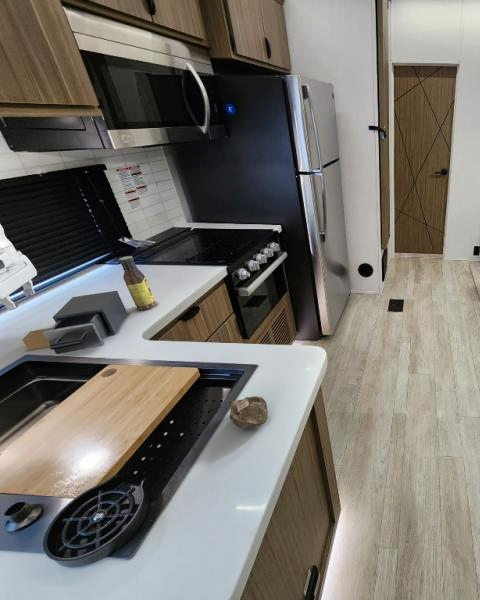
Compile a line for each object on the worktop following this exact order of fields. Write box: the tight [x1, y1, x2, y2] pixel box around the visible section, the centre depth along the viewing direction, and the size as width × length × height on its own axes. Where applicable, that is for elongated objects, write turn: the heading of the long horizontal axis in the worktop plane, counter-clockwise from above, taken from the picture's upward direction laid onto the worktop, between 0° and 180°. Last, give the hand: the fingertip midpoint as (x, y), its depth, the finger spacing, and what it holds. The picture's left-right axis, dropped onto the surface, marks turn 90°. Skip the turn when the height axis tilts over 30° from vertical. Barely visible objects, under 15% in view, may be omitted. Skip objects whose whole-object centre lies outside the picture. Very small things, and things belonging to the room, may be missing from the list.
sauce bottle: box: [118, 255, 157, 311], centre depth 122 cm, size 7×6×20 cm
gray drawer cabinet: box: [52, 290, 128, 337], centre depth 111 cm, size 15×13×10 cm
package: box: [21, 327, 52, 351], centre depth 105 cm, size 8×5×4 cm, turn 113°
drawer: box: [43, 312, 110, 355], centre depth 102 cm, size 18×11×8 cm, turn 23°
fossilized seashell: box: [229, 395, 269, 429], centre depth 76 cm, size 8×7×10 cm
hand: (22, 301), depth 98 cm, fingers open, 8 cm apart
